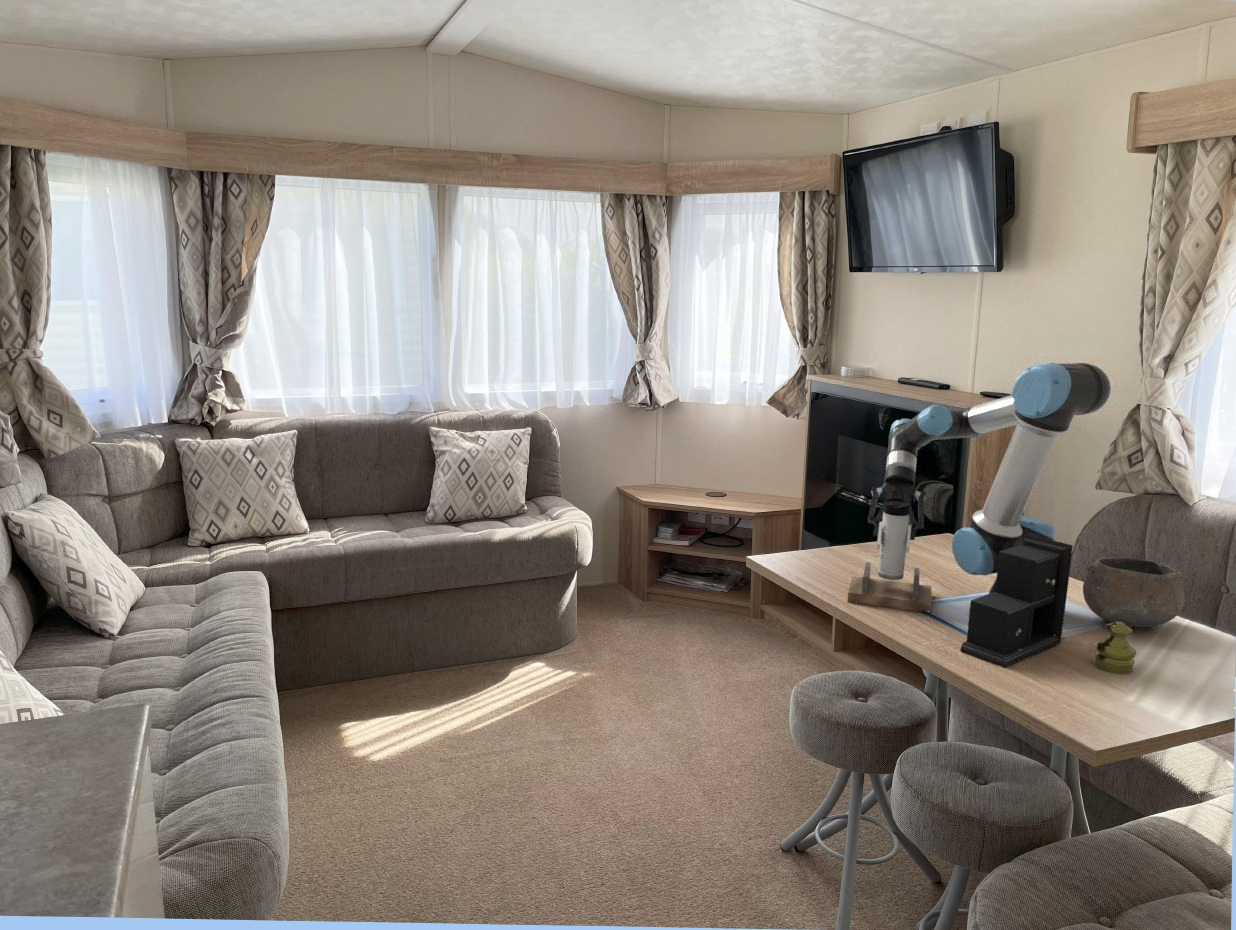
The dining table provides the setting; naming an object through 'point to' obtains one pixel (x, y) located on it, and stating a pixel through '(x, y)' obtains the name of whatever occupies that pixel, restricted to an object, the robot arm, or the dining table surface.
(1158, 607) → the clay pot
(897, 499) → the travel mug
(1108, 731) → the dining table surface
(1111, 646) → the green coiled snake figurine
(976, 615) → the black mini cabinet
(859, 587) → the wooden rack
